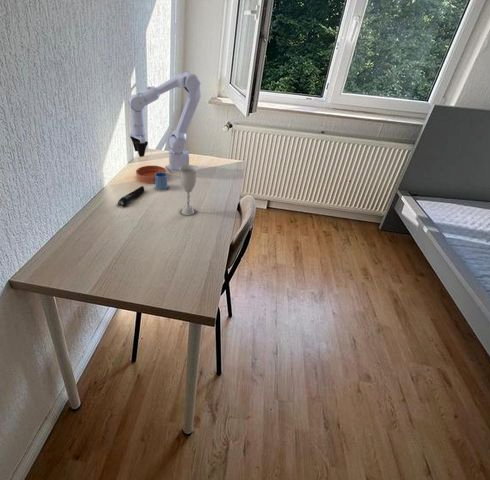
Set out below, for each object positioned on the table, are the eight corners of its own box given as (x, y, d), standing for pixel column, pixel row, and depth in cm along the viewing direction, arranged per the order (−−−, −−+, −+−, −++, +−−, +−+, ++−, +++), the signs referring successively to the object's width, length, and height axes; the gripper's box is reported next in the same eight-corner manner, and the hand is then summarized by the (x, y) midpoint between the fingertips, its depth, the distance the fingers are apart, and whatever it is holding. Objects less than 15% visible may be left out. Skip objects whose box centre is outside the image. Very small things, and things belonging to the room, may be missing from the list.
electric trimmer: (146, 193, 149) (146, 186, 148) (124, 207, 138) (124, 200, 136) (139, 191, 151) (139, 184, 149) (117, 205, 139) (116, 198, 137)
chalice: (194, 217, 133) (195, 173, 123) (177, 215, 134) (177, 171, 124) (198, 208, 139) (199, 165, 129) (181, 206, 140) (182, 164, 130)
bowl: (161, 170, 170) (160, 164, 168) (170, 182, 160) (170, 174, 158) (133, 174, 165) (132, 167, 164) (140, 186, 155) (140, 178, 153)
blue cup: (165, 185, 157) (164, 171, 153) (169, 189, 153) (168, 176, 149) (153, 186, 155) (153, 173, 151) (157, 191, 151) (157, 177, 147)
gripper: (125, 120, 159) (127, 149, 166) (132, 129, 148) (135, 160, 155) (140, 119, 161) (141, 148, 169) (148, 128, 150) (150, 158, 158)
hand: (139, 153), depth 162 cm, fingers open, 7 cm apart
